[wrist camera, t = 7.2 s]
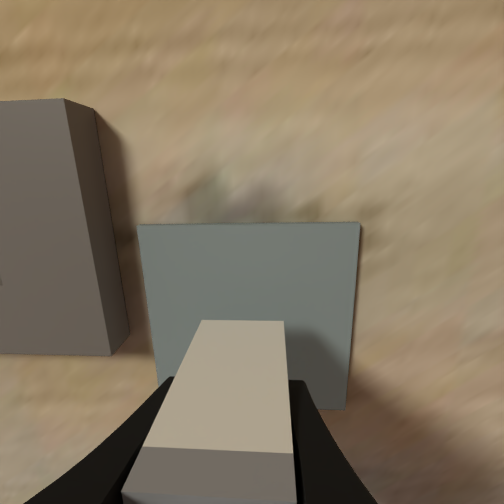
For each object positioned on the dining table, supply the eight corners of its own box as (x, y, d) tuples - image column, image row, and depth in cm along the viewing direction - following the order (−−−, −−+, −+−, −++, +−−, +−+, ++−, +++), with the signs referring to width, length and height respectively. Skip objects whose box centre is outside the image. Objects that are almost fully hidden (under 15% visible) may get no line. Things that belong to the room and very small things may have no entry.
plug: (283, 320, 12) (296, 501, 6) (283, 389, 13) (294, 613, 7) (201, 319, 13) (120, 491, 6) (207, 387, 14) (144, 599, 7)
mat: (357, 221, 14) (360, 223, 14) (343, 404, 17) (345, 410, 17) (140, 224, 15) (136, 226, 14) (163, 398, 18) (161, 403, 17)
